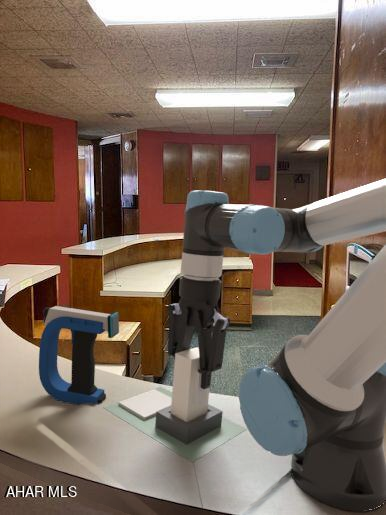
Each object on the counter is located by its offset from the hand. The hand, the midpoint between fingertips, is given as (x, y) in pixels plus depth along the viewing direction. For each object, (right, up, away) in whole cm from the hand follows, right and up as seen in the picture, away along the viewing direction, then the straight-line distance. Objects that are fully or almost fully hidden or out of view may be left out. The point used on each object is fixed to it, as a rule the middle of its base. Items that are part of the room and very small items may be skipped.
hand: (190, 398), depth 78 cm
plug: (0, -5, +1) cm, 5 cm away
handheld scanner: (-24, -4, +10) cm, 27 cm away
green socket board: (-3, -6, +4) cm, 8 cm away
